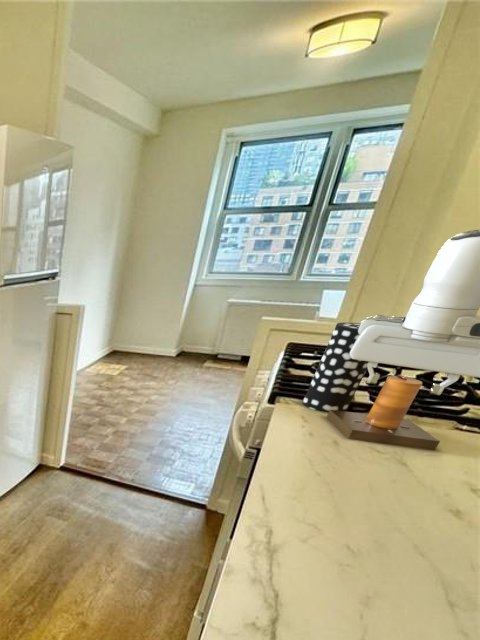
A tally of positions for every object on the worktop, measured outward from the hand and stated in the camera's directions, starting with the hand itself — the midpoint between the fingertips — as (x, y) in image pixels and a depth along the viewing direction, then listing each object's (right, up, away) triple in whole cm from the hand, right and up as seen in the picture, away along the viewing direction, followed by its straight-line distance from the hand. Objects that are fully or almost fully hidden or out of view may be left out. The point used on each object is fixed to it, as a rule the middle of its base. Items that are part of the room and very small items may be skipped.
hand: (401, 388), depth 100 cm
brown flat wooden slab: (0, -10, +5) cm, 11 cm away
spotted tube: (0, -3, +18) cm, 19 cm away
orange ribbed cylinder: (0, -7, +4) cm, 8 cm away
